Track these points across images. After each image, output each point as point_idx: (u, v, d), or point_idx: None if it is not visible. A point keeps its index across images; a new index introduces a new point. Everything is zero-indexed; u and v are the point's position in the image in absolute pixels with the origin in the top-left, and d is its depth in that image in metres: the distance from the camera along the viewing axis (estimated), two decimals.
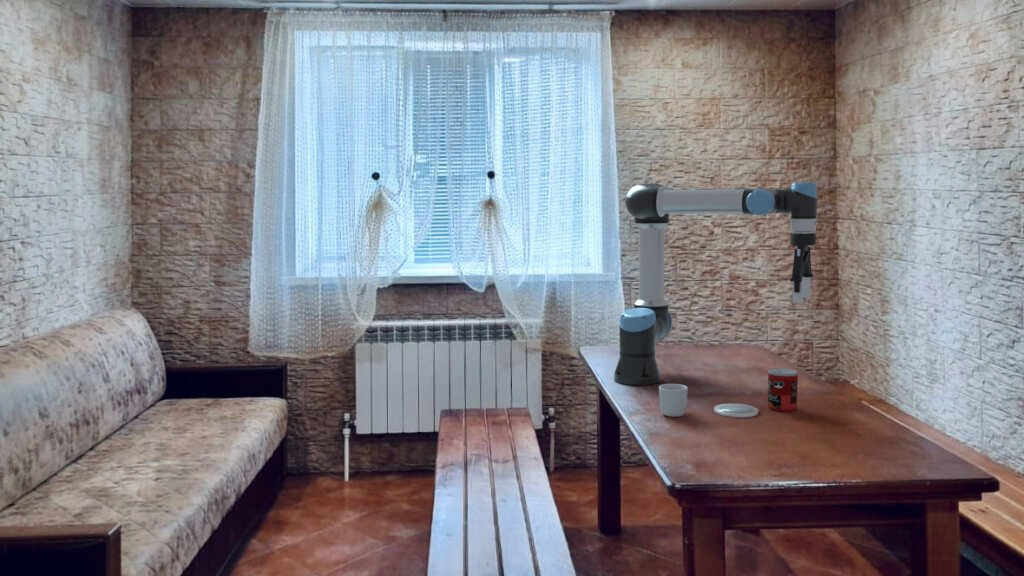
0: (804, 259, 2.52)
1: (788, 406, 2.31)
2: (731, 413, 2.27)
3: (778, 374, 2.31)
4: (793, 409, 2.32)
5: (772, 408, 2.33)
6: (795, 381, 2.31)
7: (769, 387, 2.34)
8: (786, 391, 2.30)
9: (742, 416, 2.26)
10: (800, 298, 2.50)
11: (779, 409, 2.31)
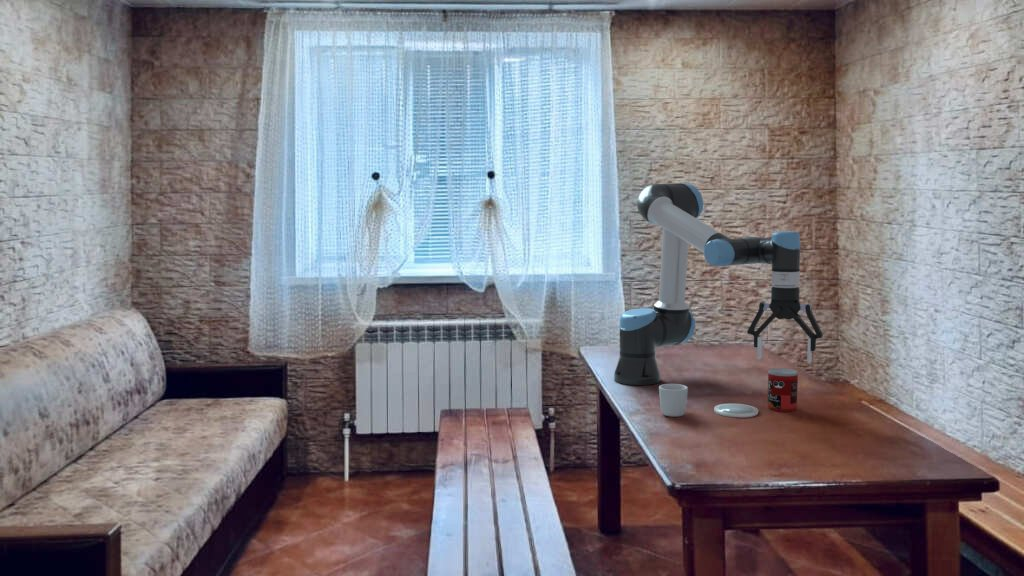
0: (771, 314, 2.32)
1: (788, 406, 2.31)
2: (731, 413, 2.27)
3: (778, 374, 2.31)
4: (793, 409, 2.32)
5: (772, 408, 2.33)
6: (795, 381, 2.31)
7: (769, 387, 2.34)
8: (785, 391, 2.30)
9: (742, 416, 2.26)
10: None
11: (779, 409, 2.31)
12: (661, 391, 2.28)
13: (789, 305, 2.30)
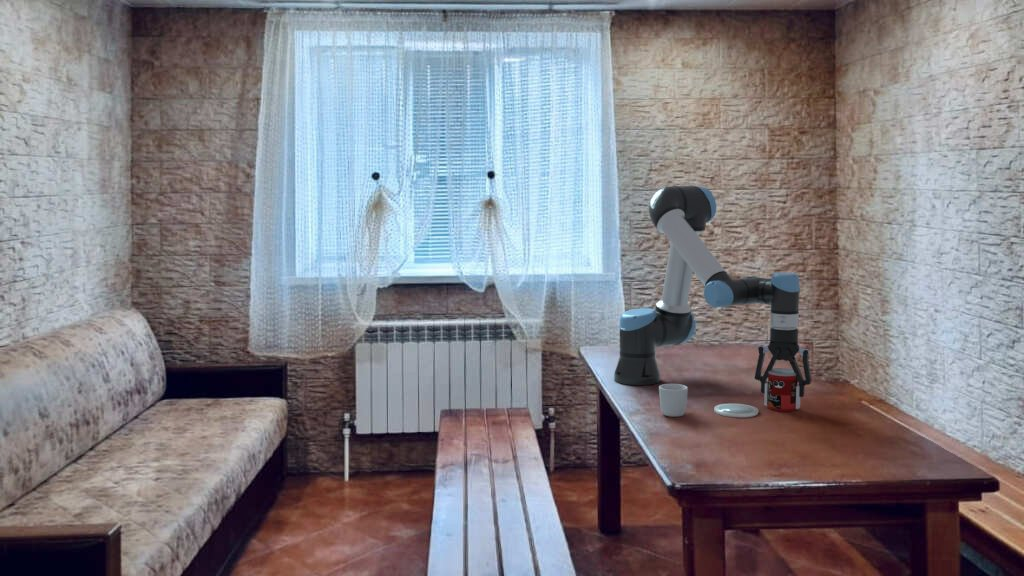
0: (772, 357, 2.33)
1: (788, 406, 2.31)
2: (731, 413, 2.27)
3: (778, 374, 2.31)
4: (793, 409, 2.32)
5: (772, 408, 2.33)
6: (795, 381, 2.31)
7: (769, 387, 2.34)
8: (786, 391, 2.30)
9: (742, 416, 2.26)
10: None
11: (779, 409, 2.31)
12: (661, 391, 2.28)
13: (788, 345, 2.31)
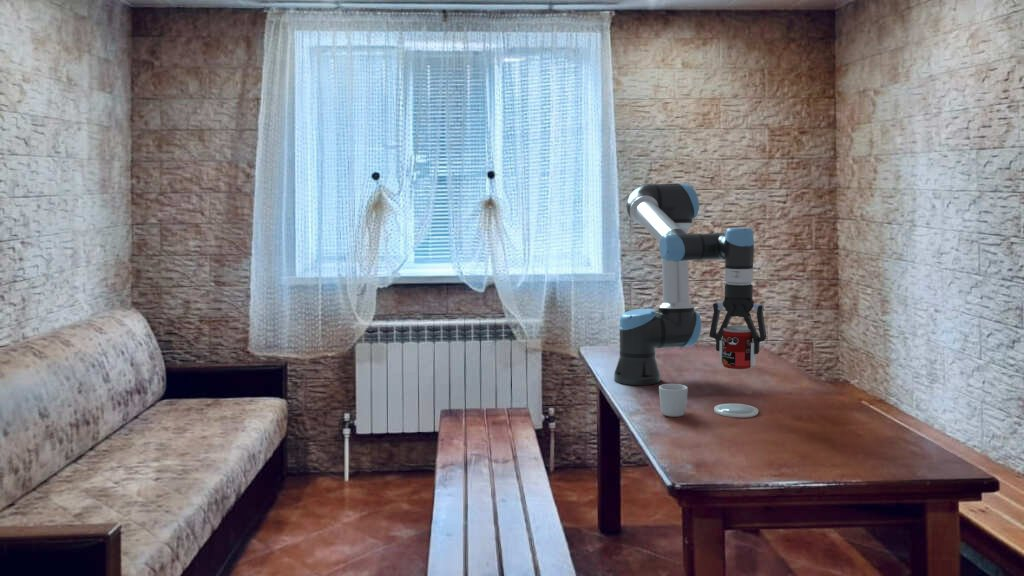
0: (726, 314, 2.29)
1: (742, 363, 2.26)
2: (731, 413, 2.27)
3: (732, 330, 2.26)
4: (748, 366, 2.27)
5: (727, 365, 2.28)
6: (750, 337, 2.26)
7: (724, 344, 2.29)
8: (740, 347, 2.26)
9: (742, 416, 2.26)
10: None
11: (733, 366, 2.27)
12: (661, 391, 2.28)
13: (743, 301, 2.27)
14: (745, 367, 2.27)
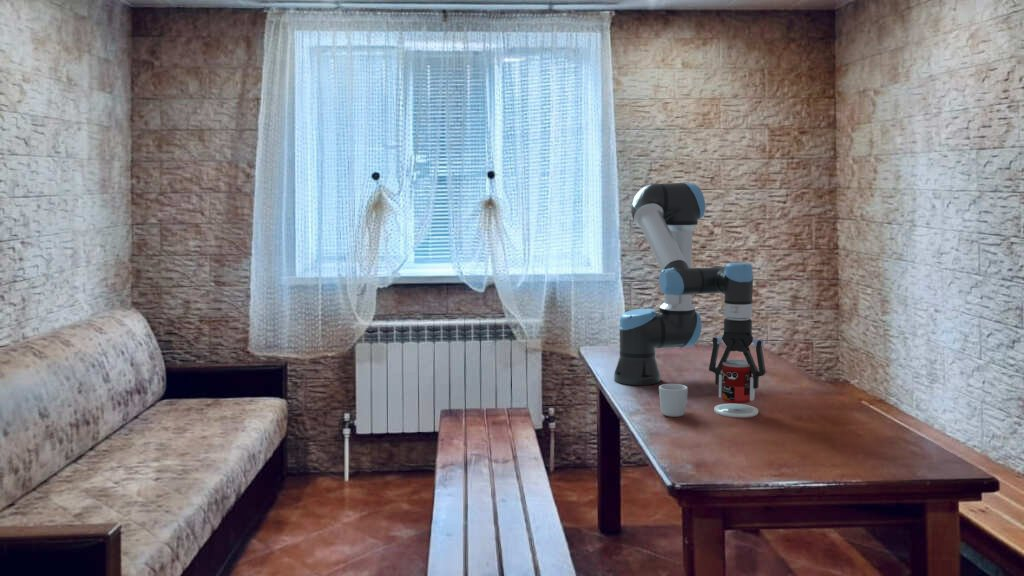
0: None
1: (741, 398, 2.28)
2: (731, 413, 2.27)
3: (731, 365, 2.27)
4: (747, 401, 2.28)
5: (726, 400, 2.30)
6: (749, 372, 2.28)
7: (723, 378, 2.30)
8: (739, 382, 2.27)
9: (742, 416, 2.26)
10: None
11: (733, 401, 2.28)
12: (661, 391, 2.28)
13: (742, 336, 2.28)
14: (744, 401, 2.28)
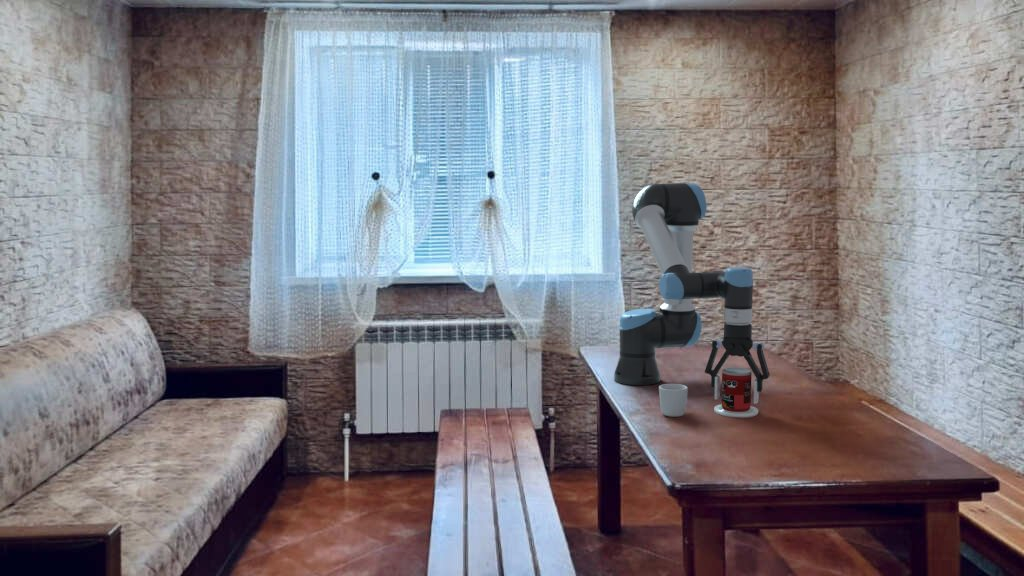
0: None
1: (741, 406, 2.28)
2: (731, 413, 2.27)
3: (731, 373, 2.28)
4: (747, 409, 2.29)
5: (726, 408, 2.30)
6: (748, 381, 2.28)
7: (723, 387, 2.31)
8: (739, 390, 2.27)
9: (742, 416, 2.26)
10: None
11: (732, 409, 2.29)
12: (661, 391, 2.28)
13: (742, 341, 2.28)
14: (744, 410, 2.28)
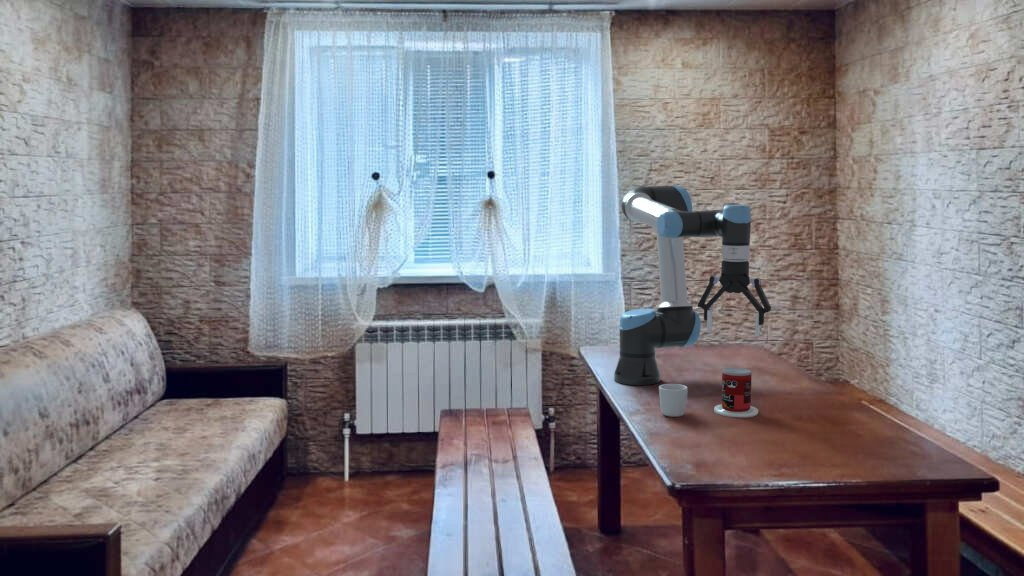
0: (721, 288, 2.32)
1: (741, 406, 2.28)
2: (731, 413, 2.27)
3: (731, 373, 2.28)
4: (747, 409, 2.29)
5: (726, 408, 2.30)
6: (748, 381, 2.28)
7: (723, 387, 2.31)
8: (739, 390, 2.27)
9: (742, 416, 2.26)
10: None
11: (732, 409, 2.29)
12: (661, 391, 2.28)
13: (738, 279, 2.30)
14: (744, 410, 2.28)
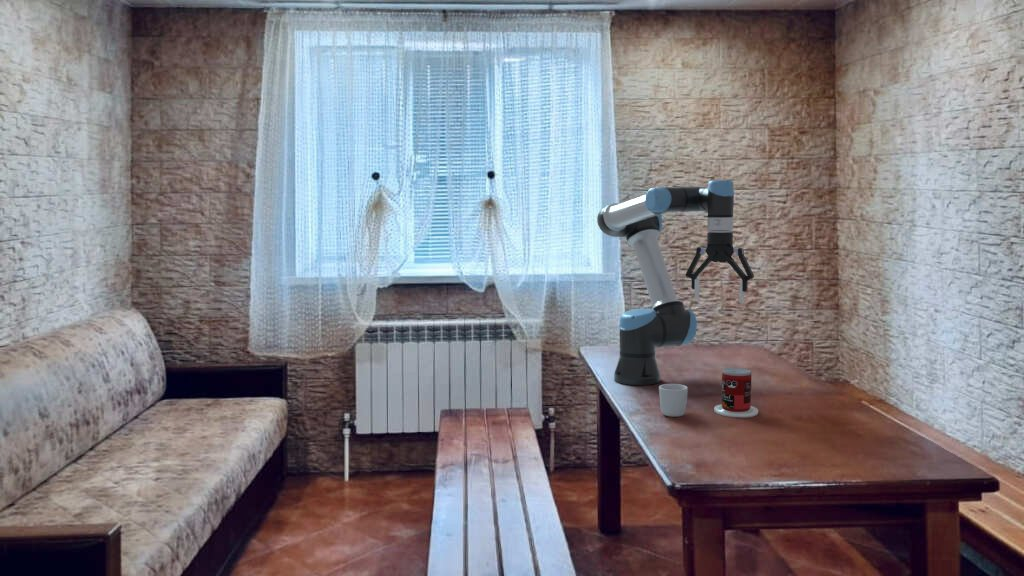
0: (707, 258, 2.49)
1: (741, 406, 2.28)
2: (731, 413, 2.27)
3: (731, 374, 2.28)
4: (747, 409, 2.29)
5: (726, 408, 2.30)
6: (748, 381, 2.28)
7: (723, 387, 2.31)
8: (739, 391, 2.27)
9: (742, 416, 2.26)
10: None
11: (732, 409, 2.29)
12: (661, 391, 2.28)
13: (723, 249, 2.46)
14: (744, 410, 2.28)
